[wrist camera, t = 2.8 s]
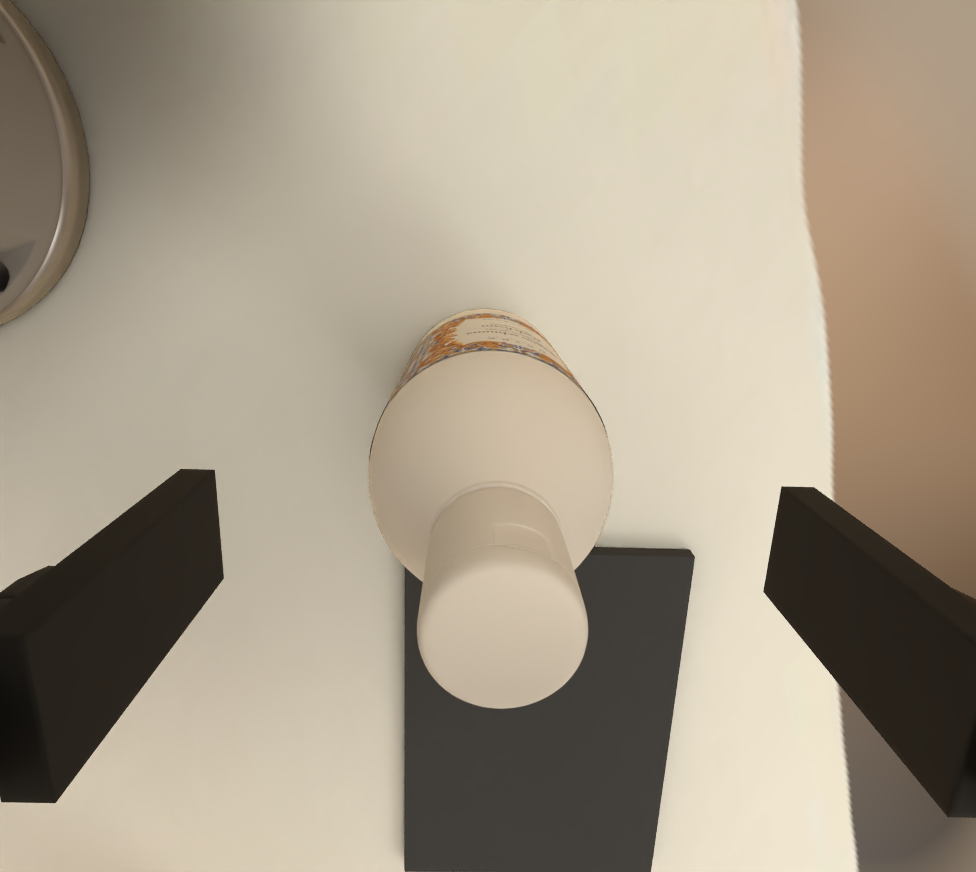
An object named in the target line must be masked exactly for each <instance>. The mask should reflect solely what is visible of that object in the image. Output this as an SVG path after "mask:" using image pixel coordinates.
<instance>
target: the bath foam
mask: <svg viewBox="0 0 976 872" xmlns="http://www.w3.org/2000/svg"><path fill="white" fill-rule="evenodd" d="M368 478H369V491H370V498H371V503H372V508H373V511H374V514H375V518H376V521H377V523H378V526H379V528H380V531H381V533H382V535H383V537H384V538H385V540H386V542H387V544H388V545H389V547H390V548H391V550H392V552H393V553H394V554H395V556H396V557H397V558H398V559H399V561H400V562H401V563H402V564H403V565H404V566H405V567H406V568H407V569H408V570H409V571H410V572H411V573H412V574H413V575H415V576H416V577H417V578H418V579H419V580H421V581H422V582H423V585H422V592H421V599H420V605H419V612H418V620H417V639H418V646H419V650H420V654H421V657H422V659H423V661H424V664H425V666H426V668H427V669H428V671H429V673H430V674H431V676H432V677H433V678H434V679H435V680H436V682H437V683H438V684H439V685H440V686H441V687H443V688H444V689H445V690H446V691H448V692H449V693H450V694H452V695H453V696H455V697H457V698H459V699H461V700H463V701H465V702H468V703H471V704H474V705H477V706H481V707H487V708H498V709H505V708H515V707H521V706H525V705H529V704H532V703H535V702H537V701H540V700H542V699H544V698H546V697H548V696H549V695H551V694H553V693H554V692H556V691H557V690H558V689H560V688H561V687H562V686H563V685H564V684H565V683H566V682H567V681H568V680H569V679H570V678H571V677H572V675H573V674H574V673H575V671H576V670H577V668H578V666H579V665H580V663H581V661H582V658H583V656H584V653H585V649H586V645H587V640H588V619H587V613H586V609H585V605H584V601H583V598H582V595H581V592H580V588H579V585H578V582H577V578H576V575H575V572H574V570H575V569H576V568H577V567H578V566H579V565H580V564H581V563H582V561H583V560H584V559H585V558H586V556H587V555H588V554H589V552H590V551H591V550H592V548H593V547H594V545H595V543H596V541H597V540H598V538H599V536H600V534H601V531H602V529H603V527H604V524H605V521H606V519H607V516H608V512H609V508H610V503H611V497H612V490H613V463H612V455H611V450H610V445H609V441H608V437H607V433H606V430H605V427H604V424H603V421H602V419H601V417H600V415H599V413H598V411H597V409H596V407H595V406H594V404H593V403H592V401H591V400H590V398H589V397H588V396H587V394H586V393H585V391H584V390H583V389H582V387H581V386H580V385H579V383H578V382H577V380H576V379H575V378H574V376H573V375H572V373H571V372H570V371H569V369H568V368H567V367H566V365H565V364H564V362H563V361H562V360H561V358H560V357H559V355H558V354H557V353H556V351H555V350H554V349H553V347H552V346H551V345H550V343H549V342H548V341H547V340H546V339H545V337H544V336H543V335H542V334H541V333H540V332H539V331H538V330H537V329H536V328H535V327H534V326H532V325H531V324H530V323H528V322H527V321H525V320H523V319H522V318H520V317H518V316H515V315H513V314H510V313H507V312H504V311H500V310H493V309H475V310H469V311H464V312H461V313H458V314H455V315H453V316H451V317H448V318H447V319H445V320H443V321H442V322H440V323H439V324H437V325H436V326H435V327H433V328H432V329H431V330H430V331H429V332H428V333H427V334H426V335H425V336H424V338H423V339H422V340H421V341H420V343H419V344H418V346H417V348H416V349H415V351H414V353H413V354H412V356H411V358H410V360H409V362H408V364H407V366H406V368H405V370H404V372H403V374H402V376H401V378H400V380H399V382H398V384H397V386H396V388H395V390H394V392H393V394H392V396H391V397H390V399H389V401H388V403H387V405H386V407H385V409H384V411H383V413H382V415H381V417H380V420H379V422H378V425H377V428H376V431H375V434H374V437H373V441H372V445H371V449H370V457H369V477H368Z"/></svg>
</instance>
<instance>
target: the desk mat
mask: <svg viewBox="0 0 976 872" xmlns="http://www.w3.org/2000/svg"><path fill="white" fill-rule="evenodd" d="M694 559H695V557H694V555H693V554H692V552H691V551H690V550H678V549H637V548H596V547H593V548H592V550H591V551H590V552H589V554H588V555H587V556H586V558H585V559H584V560H583V561H582V563H581V564H580V565H579V566H578V567H577V568H576V569H575V570H574V572H575V575H576V578H577V582H578V585H579V588H580V592H581V595H582V598H583V601H584V605H585V609H586V613H587V619H588V640H587V645H586V649H585V653H584V656H583V658H582V661H581V663H580V665H579V666H578V668H577V670H576V671H575V673H574V674H573V675H572V677H571V678H570V679H569V680H568V681H567V682H566V683H565V684H564V685H563V686H562V687H561V688H560V689H558V690H557V691H556V692H554V693H553V694H551V695H549V696H548V697H546V698H544V699H542V700H540V701H537V702H535V703H532V704H529V705H525V706H521V707H515V708H505V709H498V708H487V707H481V706H477V705H474V704H471V703H468V702H465V701H463V700H461V699H459V698H457V697H455V696H453V695H452V694H450V693H449V692H448V691H446V690H445V689H444V688H443V687H441V686H440V685H439V684H438V683H437V682H436V680H435V679H434V678H433V677H432V676H431V674H430V673H429V671H428V669H427V668H426V666H425V664H424V661H423V659H422V657H421V654H420V650H419V646H418V639H417V620H418V612H419V605H420V599H421V592H422V585H423V582H422V581H421V580H419V579H418V578H417V577H416V576H415V575H413V574H412V573H411V572H410V571H409V570H408V569H407V568H406V567H405V872H651V867H652V859H653V852H654V845H655V838H656V831H657V824H658V817H659V809H660V802H661V795H662V788H663V781H664V774H665V767H666V759H667V752H668V745H669V738H670V731H671V724H672V717H673V709H674V702H675V695H676V688H677V681H678V674H679V666H680V659H681V652H682V645H683V638H684V631H685V624H686V616H687V609H688V602H689V595H690V588H691V581H692V574H693V566H694Z"/></svg>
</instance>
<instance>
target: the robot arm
mask: <svg viewBox="0 0 976 872" xmlns="http://www.w3.org/2000/svg"><path fill="white" fill-rule="evenodd" d="M89 176H90V174H89V162H88V152H87V147H86V141H85V135H84V131H83V127H82V124H81V120H80V116H79V113H78V110H77V107H76V104H75V102H74V99H73V96H72V93H71V91H70V89H69V87H68V85H67V82H66V80H65V78H64V76H63V74H62V72H61V70H60V68H59V66H58V65H57V63H56V61H55V59H54V57H53V56H52V54H51V52H50V51H49V49H48V48H47V46H46V45H45V43H44V42H43V40H42V39H41V37H40V36H39V34H38V33H37V32H36V31H35V29H34V28H33V27H32V25H31V24H30V23H29V22H28V20H27V19H26V18H25V17H24V16H23V14H22V13H21V12H20V11H19V10H18V9H17V8H16V7H15V6H14V5H13V4H12V2H11V1H10V0H0V325H2V324H4V323H6V322H8V321H10V320H13V319H15V318H16V317H18V316H19V315H21V314H23V313H24V312H26V311H28V310H29V309H30V308H31V307H33V306H34V305H35V304H36V303H38V302H39V301H40V300H41V299H42V298H43V297H44V296H45V295H46V294H47V293H48V292H49V291H50V290H51V289H52V288H53V287H54V285H55V284H56V283H57V282H58V280H59V279H60V278H61V277H62V275H63V273H64V272H65V270H66V269H67V267H68V265H69V264H70V262H71V260H72V258H73V256H74V253H75V251H76V249H77V247H78V244H79V241H80V238H81V235H82V232H83V229H84V224H85V220H86V215H87V209H88V200H89ZM223 579H224V575H223V563H222V551H221V539H220V527H219V515H218V503H217V491H216V479H215V470H198V469H180V470H179V471H178V472H176V473H175V474H174V475H172V476H171V477H170V478H169V479H167V480H166V481H165V482H163V483H162V484H161V485H159V486H158V487H157V488H156V489H154V490H153V491H152V492H150V493H149V494H148V495H146V496H145V497H144V498H143V499H141V500H140V501H139V502H137V503H136V504H135V505H134V506H132V507H131V508H130V509H128V510H127V511H126V512H124V513H123V514H122V515H121V516H119V517H118V518H117V519H115V520H114V521H113V522H111V523H110V524H109V525H108V526H106V527H105V528H104V529H102V530H101V531H100V532H98V533H97V534H96V535H95V536H93V537H92V538H91V539H89V540H88V541H87V542H86V543H84V544H83V545H82V546H80V547H79V548H78V549H76V550H75V551H74V552H73V553H71V554H70V555H69V556H67V557H66V558H65V559H63V560H62V561H61V562H60V563H58V564H57V565H56V566H47V567H45V568H43V569H40V570H38V571H36V572H34V573H31V574H29V575H27V576H25V577H23V578H20V579H18V580H17V581H15V582H14V583H13V584H11V585H10V586H9V587H7V588H6V589H5V590H3V591H2V592H0V798H1V802H24V803H56V802H57V800H58V799H59V798H60V796H61V795H62V794H63V792H64V791H65V790H66V788H67V787H68V786H69V784H70V783H71V782H72V780H73V779H74V778H75V776H76V775H77V774H78V772H79V771H80V770H81V768H82V767H83V766H84V764H85V763H86V762H87V760H88V759H89V758H90V756H91V755H92V754H93V752H94V751H95V750H96V748H97V747H98V746H99V744H100V743H101V742H102V740H103V739H104V738H105V736H106V735H107V734H108V732H109V731H110V730H111V728H112V727H113V726H114V724H115V723H116V722H117V720H118V719H119V718H120V716H121V715H122V714H123V712H124V711H125V710H126V708H127V707H128V706H129V704H130V703H131V702H132V700H133V699H134V698H135V696H136V695H137V694H138V692H139V691H140V690H141V688H142V687H143V686H144V684H145V683H146V682H147V680H148V679H149V678H150V676H151V675H152V674H153V672H154V671H155V670H156V668H157V667H158V666H159V664H160V663H161V662H162V660H163V659H164V657H165V656H166V655H167V653H168V652H169V651H170V649H171V648H172V647H173V645H174V644H175V643H176V641H177V640H178V639H179V637H180V636H181V635H182V633H183V632H184V631H185V629H186V628H187V627H188V625H189V624H190V623H191V621H192V620H193V619H194V617H195V616H196V615H197V613H198V612H199V611H200V609H201V608H202V607H203V605H204V604H205V603H206V601H207V600H208V599H209V597H210V596H211V595H212V593H213V592H214V591H215V589H216V588H217V587H218V585H219V584H220V583H221V581H222V580H223ZM763 592H764V593H765V594H766V595H767V597H768V598H769V599H770V600H771V602H772V603H773V604H774V605H775V606H776V608H777V609H778V610H779V611H780V613H781V614H782V615H783V616H784V617H785V619H786V620H787V621H788V622H789V624H790V625H791V626H792V627H793V628H794V630H795V631H796V632H797V633H798V635H799V636H800V637H801V638H802V639H803V641H804V642H805V643H806V644H807V646H808V647H809V648H810V649H811V650H812V652H813V653H814V654H815V655H816V657H817V658H818V659H819V660H820V661H821V663H822V664H823V665H824V666H825V668H826V669H827V670H828V671H829V672H830V674H831V675H832V676H833V677H834V679H835V680H836V681H837V682H838V683H839V685H840V686H841V687H842V688H843V690H844V691H845V692H846V693H847V694H848V696H849V697H850V698H851V699H852V701H854V703H855V704H856V705H857V707H858V708H859V709H860V710H861V712H862V713H863V714H864V715H865V716H866V718H867V719H868V720H869V721H870V723H871V724H872V725H873V726H874V727H875V729H876V730H877V731H878V732H879V733H880V734H881V736H882V737H883V738H884V739H885V741H886V742H887V743H888V744H889V746H890V747H891V748H892V749H893V751H894V752H895V753H896V754H897V755H898V757H899V758H900V759H901V760H902V762H903V763H904V764H905V765H906V766H907V768H908V769H909V770H910V771H911V773H912V774H913V775H914V776H915V777H916V779H917V780H918V781H919V782H920V783H921V785H922V786H923V787H924V788H925V790H926V791H927V792H928V793H929V795H930V796H931V797H932V798H933V799H934V801H935V802H936V803H937V804H938V806H939V807H940V808H941V809H942V810H943V811H944V813H945V814H946V815H947V817H972V818H976V599H974V598H972V597H970V596H968V595H966V594H964V593H961V592H959V591H957V590H955V589H953V588H951V587H950V586H948V585H947V584H946V583H944V582H943V581H941V580H940V579H939V578H937V577H936V576H934V575H933V574H932V573H930V572H929V571H928V570H926V569H925V568H923V567H922V566H921V565H919V564H918V563H916V562H915V561H914V560H913V559H911V558H910V557H908V556H907V555H906V554H904V553H903V552H902V551H900V550H899V549H898V548H896V547H895V546H893V545H892V544H891V543H889V542H888V541H886V540H885V539H884V538H882V537H881V536H880V535H878V534H877V533H876V532H874V531H873V530H871V529H870V528H869V527H867V526H866V525H865V524H863V523H862V522H861V521H859V520H858V519H856V518H855V517H854V516H852V515H851V514H850V513H848V512H847V511H845V510H844V509H843V508H841V507H840V506H839V505H837V504H836V503H835V502H833V501H832V500H830V499H829V498H828V497H826V496H825V495H824V494H822V493H821V492H819V491H818V490H817V489H815V488H814V487H781V493H780V499H779V505H778V510H777V516H776V522H775V528H774V534H773V539H772V545H771V551H770V557H769V563H768V568H767V574H766V580H765V586H764V591H763Z"/></svg>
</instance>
